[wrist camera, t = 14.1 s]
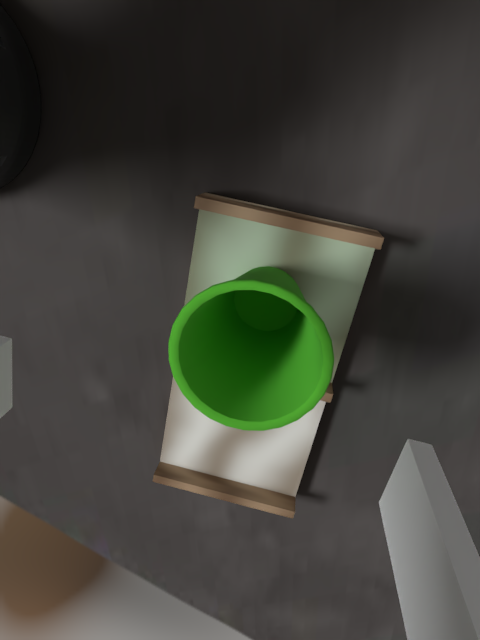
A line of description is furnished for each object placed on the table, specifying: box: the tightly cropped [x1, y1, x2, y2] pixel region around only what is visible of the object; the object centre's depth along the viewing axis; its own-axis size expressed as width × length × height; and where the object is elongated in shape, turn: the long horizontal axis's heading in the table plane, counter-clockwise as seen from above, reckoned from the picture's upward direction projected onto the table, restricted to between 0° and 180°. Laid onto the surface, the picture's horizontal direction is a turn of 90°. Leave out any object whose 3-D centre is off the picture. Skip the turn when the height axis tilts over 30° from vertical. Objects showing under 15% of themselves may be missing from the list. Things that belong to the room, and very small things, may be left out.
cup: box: [169, 266, 334, 431], centre depth 28 cm, size 9×9×11 cm
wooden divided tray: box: [153, 192, 384, 518], centre depth 36 cm, size 13×26×3 cm, turn 169°
